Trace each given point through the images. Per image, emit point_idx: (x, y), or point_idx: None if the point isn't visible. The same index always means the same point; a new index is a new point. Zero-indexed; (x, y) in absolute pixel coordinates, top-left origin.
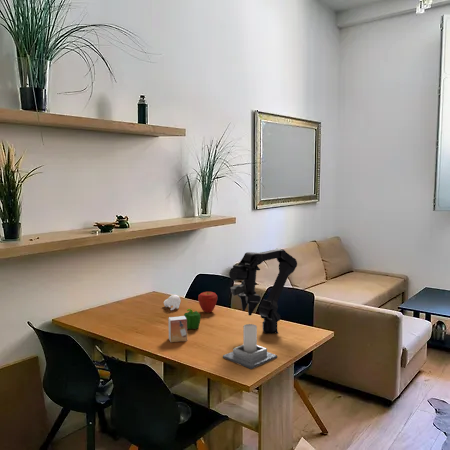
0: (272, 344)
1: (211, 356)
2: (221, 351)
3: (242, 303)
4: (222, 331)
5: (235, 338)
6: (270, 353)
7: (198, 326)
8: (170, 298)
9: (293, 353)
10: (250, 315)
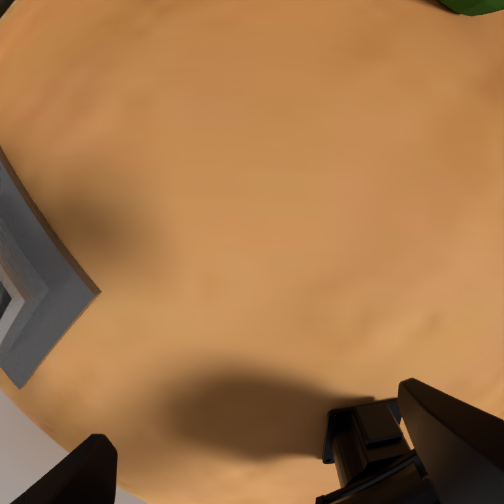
0: (159, 417)
1: (19, 87)
2: (57, 123)
3: (469, 454)
4: (417, 132)
5: (270, 212)
6: (26, 373)
7: (453, 6)
8: None
9: None
10: (106, 447)
